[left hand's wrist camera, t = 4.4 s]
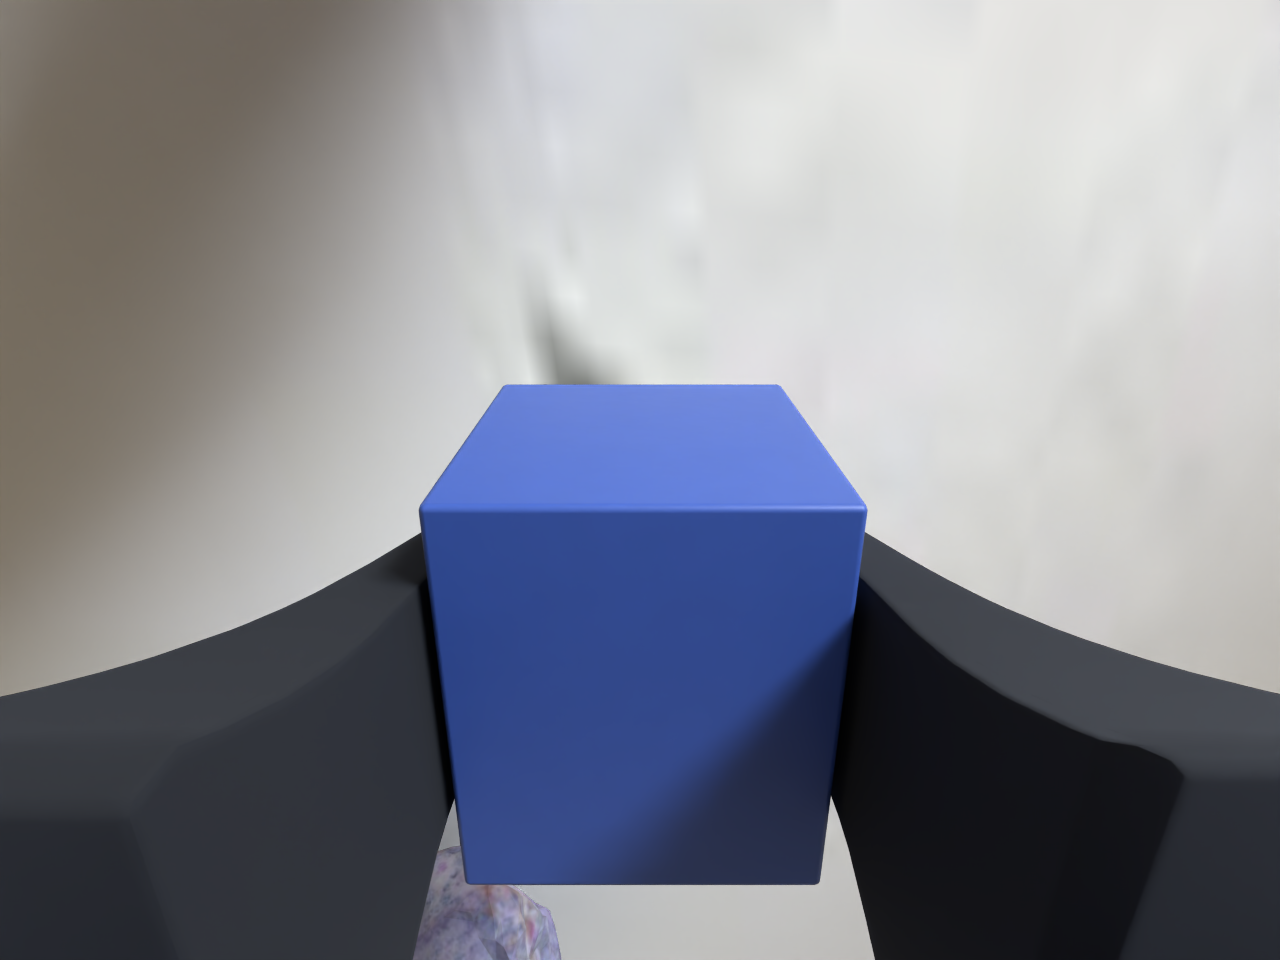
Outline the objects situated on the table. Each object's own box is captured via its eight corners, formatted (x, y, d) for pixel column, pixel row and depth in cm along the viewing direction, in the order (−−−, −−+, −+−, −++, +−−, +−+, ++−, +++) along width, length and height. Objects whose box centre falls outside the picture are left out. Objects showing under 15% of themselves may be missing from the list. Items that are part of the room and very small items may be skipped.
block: (522, 655, 13) (463, 888, 9) (502, 383, 11) (415, 505, 7) (760, 655, 13) (821, 887, 9) (781, 383, 11) (870, 505, 7)
